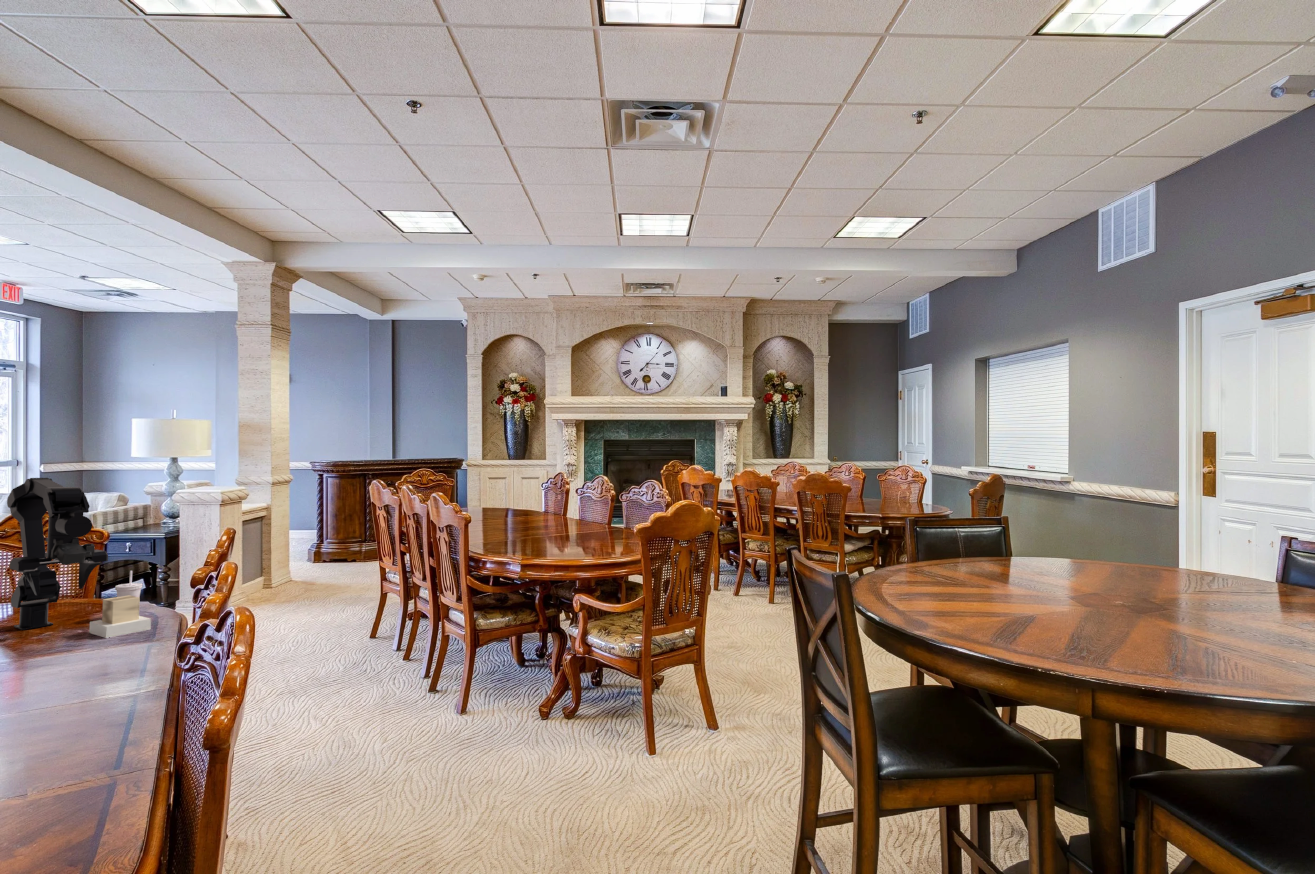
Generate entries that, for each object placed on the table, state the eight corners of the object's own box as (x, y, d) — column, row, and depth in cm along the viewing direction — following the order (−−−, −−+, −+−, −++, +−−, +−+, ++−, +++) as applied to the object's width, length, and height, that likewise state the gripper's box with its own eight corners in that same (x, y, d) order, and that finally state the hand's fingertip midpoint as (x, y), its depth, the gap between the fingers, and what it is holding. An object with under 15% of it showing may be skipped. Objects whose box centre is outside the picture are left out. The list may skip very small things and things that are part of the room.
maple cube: (102, 621, 174) (103, 599, 174) (128, 616, 179) (129, 595, 179) (112, 624, 171) (113, 601, 171) (138, 619, 176) (139, 597, 176)
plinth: (89, 632, 173) (89, 621, 173) (133, 624, 182) (133, 614, 182) (106, 638, 168) (106, 626, 168) (150, 629, 177) (151, 618, 177)
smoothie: (125, 620, 186) (127, 572, 186) (107, 619, 187) (109, 571, 187) (146, 615, 192) (148, 569, 192) (129, 614, 193) (131, 568, 194)
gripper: (29, 540, 159) (26, 602, 158) (119, 532, 176) (116, 589, 175) (10, 536, 164) (7, 596, 163) (99, 529, 180) (96, 584, 180)
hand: (59, 591), depth 170 cm, fingers open, 9 cm apart
